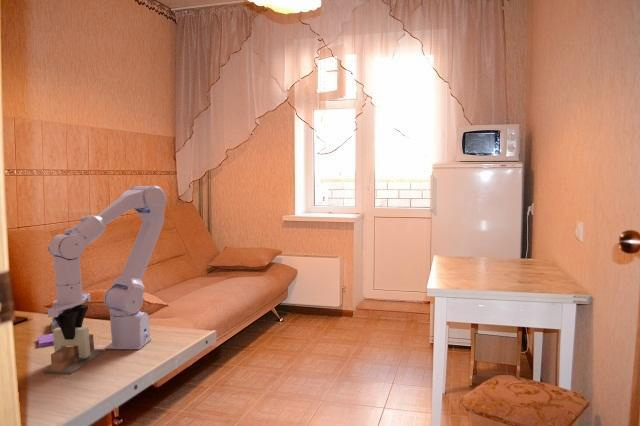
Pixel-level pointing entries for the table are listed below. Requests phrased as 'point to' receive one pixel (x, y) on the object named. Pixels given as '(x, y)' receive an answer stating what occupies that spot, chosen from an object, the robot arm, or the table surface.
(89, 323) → the table surface
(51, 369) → the slotted base
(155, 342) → the table surface
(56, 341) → the cream h-shaped block
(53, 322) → the egg carton
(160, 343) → the table surface
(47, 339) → the sponges
